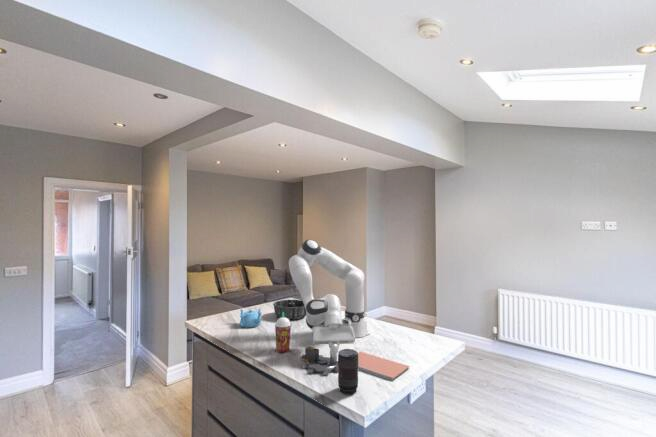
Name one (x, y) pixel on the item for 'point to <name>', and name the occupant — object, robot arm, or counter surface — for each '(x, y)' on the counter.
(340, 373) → the camera lens
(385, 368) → the notebook
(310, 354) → the grey and orange block
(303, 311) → the bundt pan
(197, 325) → the counter surface
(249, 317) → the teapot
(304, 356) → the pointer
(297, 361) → the counter surface
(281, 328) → the smoothie
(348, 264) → the robot arm
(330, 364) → the sprocket
